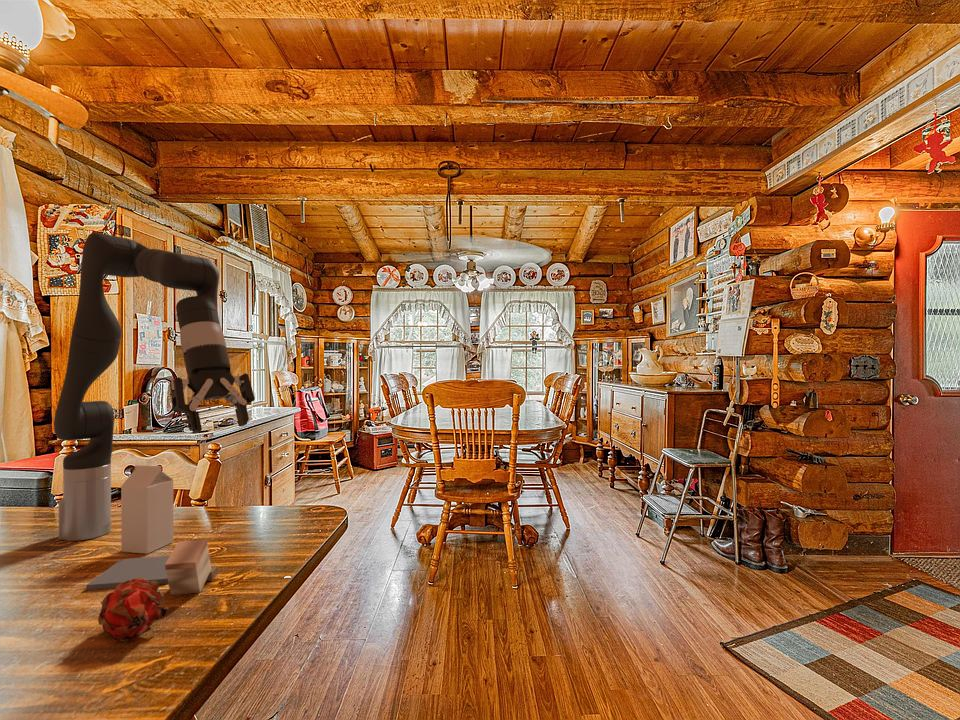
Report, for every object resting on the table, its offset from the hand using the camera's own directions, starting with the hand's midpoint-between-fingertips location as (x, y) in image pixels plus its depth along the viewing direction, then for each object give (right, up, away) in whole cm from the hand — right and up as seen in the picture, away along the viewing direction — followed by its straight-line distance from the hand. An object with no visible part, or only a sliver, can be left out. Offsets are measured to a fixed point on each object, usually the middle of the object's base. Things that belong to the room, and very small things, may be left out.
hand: (221, 428), depth 90 cm
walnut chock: (-6, -30, +4) cm, 31 cm away
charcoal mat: (-19, -30, +6) cm, 36 cm away
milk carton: (-28, -31, +20) cm, 46 cm away
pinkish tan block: (-6, -30, -1) cm, 31 cm away
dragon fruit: (-6, -31, -15) cm, 34 cm away
